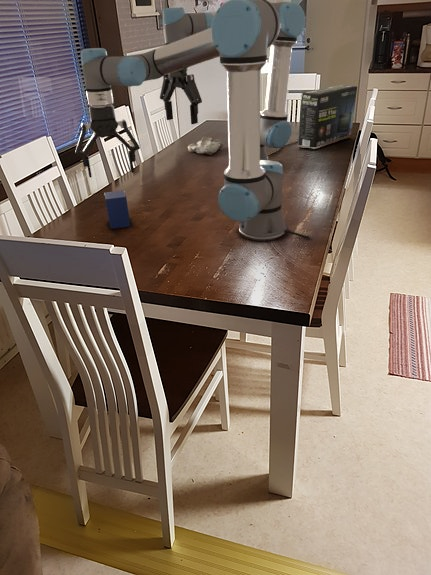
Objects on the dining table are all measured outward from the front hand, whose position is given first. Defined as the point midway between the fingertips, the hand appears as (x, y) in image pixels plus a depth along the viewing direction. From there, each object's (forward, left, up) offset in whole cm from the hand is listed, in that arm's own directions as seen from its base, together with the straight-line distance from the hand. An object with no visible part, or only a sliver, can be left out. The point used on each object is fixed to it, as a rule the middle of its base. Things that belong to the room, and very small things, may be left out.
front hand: (111, 173), depth 151 cm
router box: (-29, -134, -18) cm, 138 cm away
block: (0, 0, -18) cm, 18 cm away
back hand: (-3, -38, +9) cm, 39 cm away
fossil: (+22, -94, -18) cm, 99 cm away
